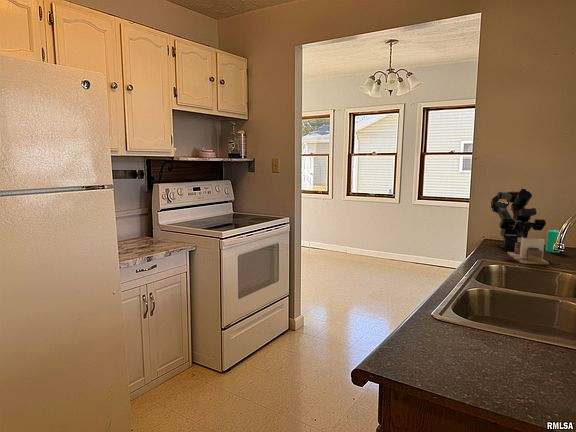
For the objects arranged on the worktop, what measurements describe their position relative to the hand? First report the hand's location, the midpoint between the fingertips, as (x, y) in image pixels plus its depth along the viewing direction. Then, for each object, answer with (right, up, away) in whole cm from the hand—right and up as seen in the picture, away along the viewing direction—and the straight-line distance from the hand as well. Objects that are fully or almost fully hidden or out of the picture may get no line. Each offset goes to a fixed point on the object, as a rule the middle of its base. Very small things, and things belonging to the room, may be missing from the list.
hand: (525, 238), depth 184 cm
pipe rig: (-1, -9, -2) cm, 10 cm away
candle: (+23, -8, +15) cm, 28 cm away
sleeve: (-2, -9, -7) cm, 11 cm away
